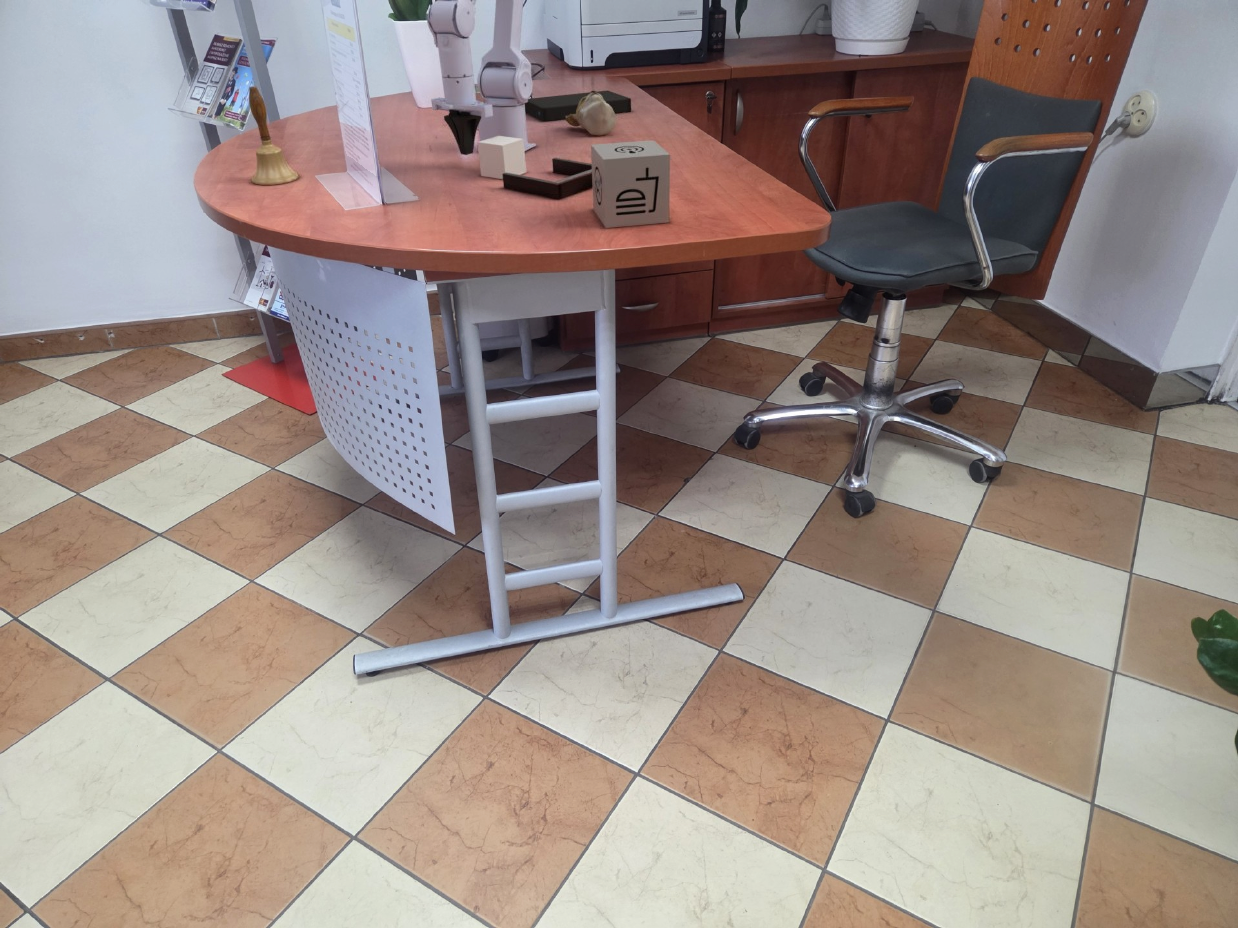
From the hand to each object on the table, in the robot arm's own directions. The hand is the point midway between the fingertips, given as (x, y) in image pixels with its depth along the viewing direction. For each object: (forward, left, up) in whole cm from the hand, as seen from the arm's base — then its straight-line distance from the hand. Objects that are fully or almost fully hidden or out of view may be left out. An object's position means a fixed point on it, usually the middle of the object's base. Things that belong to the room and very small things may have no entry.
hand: (467, 153), depth 154 cm
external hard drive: (-2, +57, -3) cm, 57 cm away
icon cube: (+41, -20, -3) cm, 46 cm away
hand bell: (-31, -18, -3) cm, 36 cm away
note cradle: (+22, -7, -2) cm, 23 cm away
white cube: (+9, -3, -3) cm, 10 cm away
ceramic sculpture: (+11, +37, -3) cm, 38 cm away
